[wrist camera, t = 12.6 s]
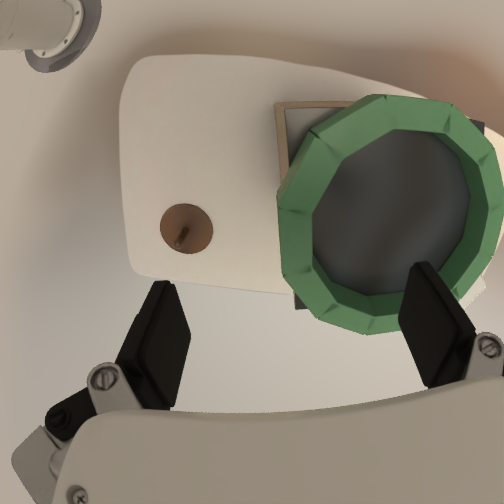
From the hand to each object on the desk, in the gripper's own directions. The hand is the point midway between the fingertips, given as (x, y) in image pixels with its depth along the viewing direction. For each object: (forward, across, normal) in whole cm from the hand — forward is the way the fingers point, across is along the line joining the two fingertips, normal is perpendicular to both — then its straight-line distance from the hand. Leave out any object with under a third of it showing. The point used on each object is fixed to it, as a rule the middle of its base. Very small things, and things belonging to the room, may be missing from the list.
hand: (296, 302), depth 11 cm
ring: (+8, -8, 0) cm, 11 cm away
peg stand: (+34, +15, +12) cm, 39 cm away
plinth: (+34, -8, +1) cm, 35 cm away
